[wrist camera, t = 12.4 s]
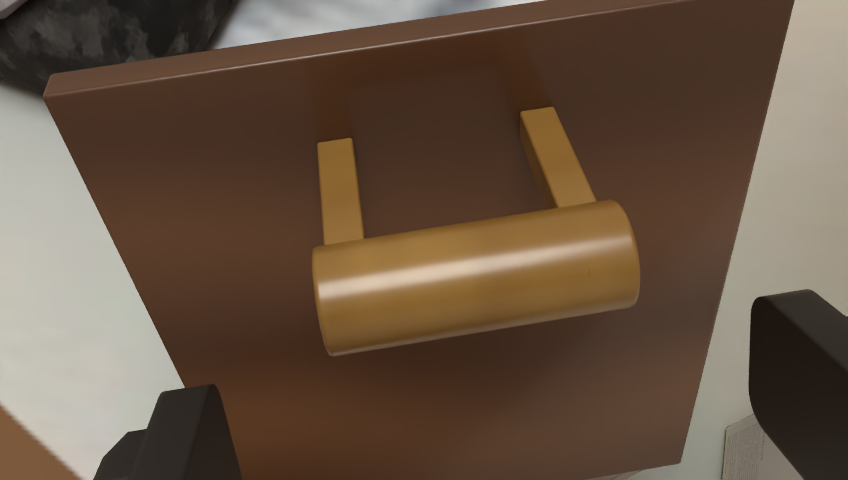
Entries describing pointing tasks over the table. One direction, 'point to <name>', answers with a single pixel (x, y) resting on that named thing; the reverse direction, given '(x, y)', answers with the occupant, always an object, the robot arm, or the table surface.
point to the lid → (440, 229)
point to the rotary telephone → (97, 34)
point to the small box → (754, 454)
